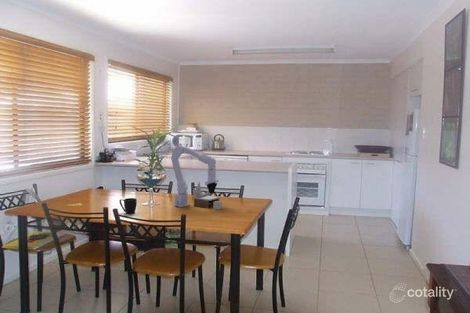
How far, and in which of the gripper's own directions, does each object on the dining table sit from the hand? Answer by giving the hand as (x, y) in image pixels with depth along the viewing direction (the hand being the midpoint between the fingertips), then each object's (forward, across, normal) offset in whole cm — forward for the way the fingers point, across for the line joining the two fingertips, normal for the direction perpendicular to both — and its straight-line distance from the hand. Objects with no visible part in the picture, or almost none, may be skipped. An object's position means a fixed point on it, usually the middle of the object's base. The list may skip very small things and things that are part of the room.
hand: (211, 193), depth 298 cm
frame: (+9, 0, +4) cm, 10 cm away
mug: (+10, -50, +34) cm, 61 cm away
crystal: (+10, +14, +19) cm, 26 cm away
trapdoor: (+4, 0, +4) cm, 6 cm away
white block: (+10, -5, -8) cm, 14 cm away
